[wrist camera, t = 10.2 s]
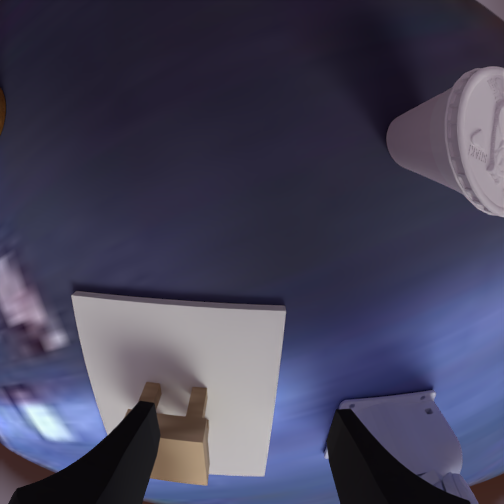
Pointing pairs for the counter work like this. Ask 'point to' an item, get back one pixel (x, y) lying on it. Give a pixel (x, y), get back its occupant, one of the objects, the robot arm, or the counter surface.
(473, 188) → the smoothie
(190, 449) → the stool
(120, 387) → the cutting board
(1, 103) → the disposable coffee cup
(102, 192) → the counter surface
